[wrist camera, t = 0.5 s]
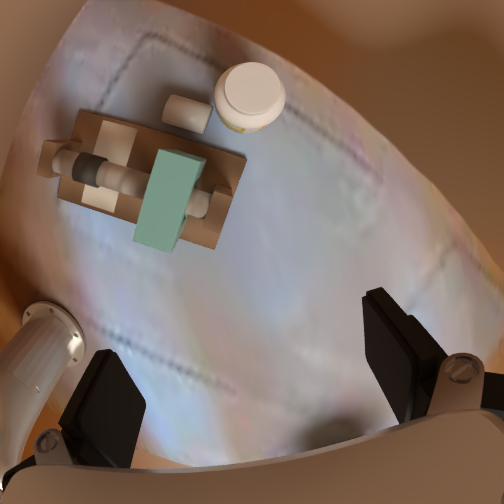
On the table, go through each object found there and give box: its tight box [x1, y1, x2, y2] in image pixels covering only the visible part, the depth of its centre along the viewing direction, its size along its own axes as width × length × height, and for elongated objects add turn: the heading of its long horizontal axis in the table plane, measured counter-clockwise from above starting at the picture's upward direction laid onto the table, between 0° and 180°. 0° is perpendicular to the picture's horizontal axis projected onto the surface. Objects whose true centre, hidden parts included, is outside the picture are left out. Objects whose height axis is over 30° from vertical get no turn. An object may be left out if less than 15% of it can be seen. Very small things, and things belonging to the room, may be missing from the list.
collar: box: [133, 149, 207, 253], centre depth 32 cm, size 9×4×9 cm, turn 159°
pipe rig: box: [36, 111, 247, 250], centre depth 33 cm, size 12×23×8 cm, turn 69°
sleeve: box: [162, 94, 213, 134], centre depth 33 cm, size 4×5×4 cm
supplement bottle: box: [214, 62, 286, 133], centre depth 29 cm, size 7×7×13 cm
